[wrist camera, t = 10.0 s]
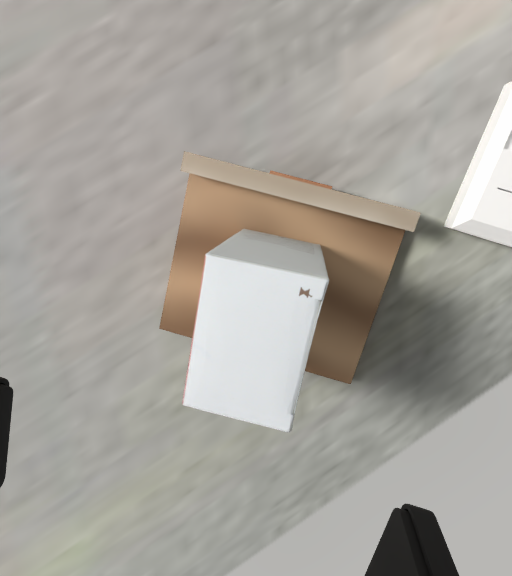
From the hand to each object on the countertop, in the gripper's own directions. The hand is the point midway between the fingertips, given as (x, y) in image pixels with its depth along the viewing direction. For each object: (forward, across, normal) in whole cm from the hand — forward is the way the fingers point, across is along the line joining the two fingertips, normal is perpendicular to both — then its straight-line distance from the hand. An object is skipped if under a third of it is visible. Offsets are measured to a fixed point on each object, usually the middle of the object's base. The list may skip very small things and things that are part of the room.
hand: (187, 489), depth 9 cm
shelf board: (+20, 0, -1) cm, 20 cm away
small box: (+19, 0, 0) cm, 19 cm away
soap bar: (+21, -13, -12) cm, 27 cm away
